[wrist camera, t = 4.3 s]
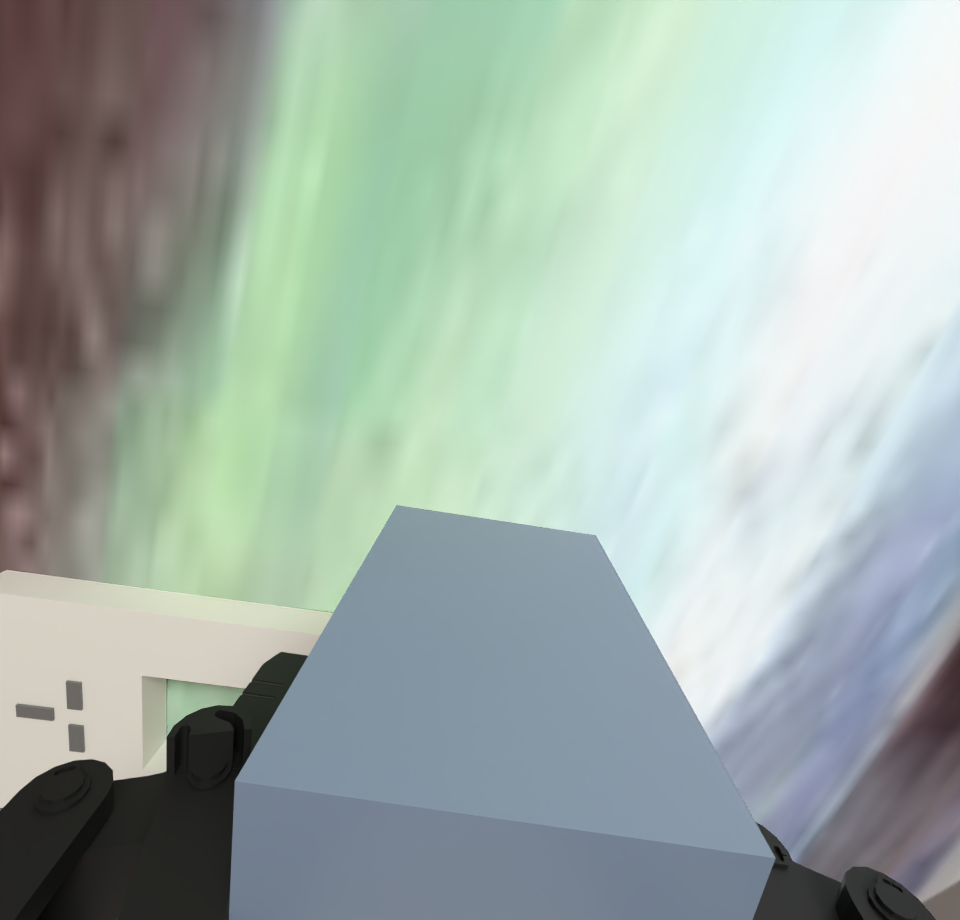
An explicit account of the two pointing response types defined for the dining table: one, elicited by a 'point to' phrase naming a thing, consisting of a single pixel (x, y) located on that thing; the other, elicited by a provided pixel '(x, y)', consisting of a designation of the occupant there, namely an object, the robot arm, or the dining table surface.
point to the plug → (489, 750)
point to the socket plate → (119, 667)
